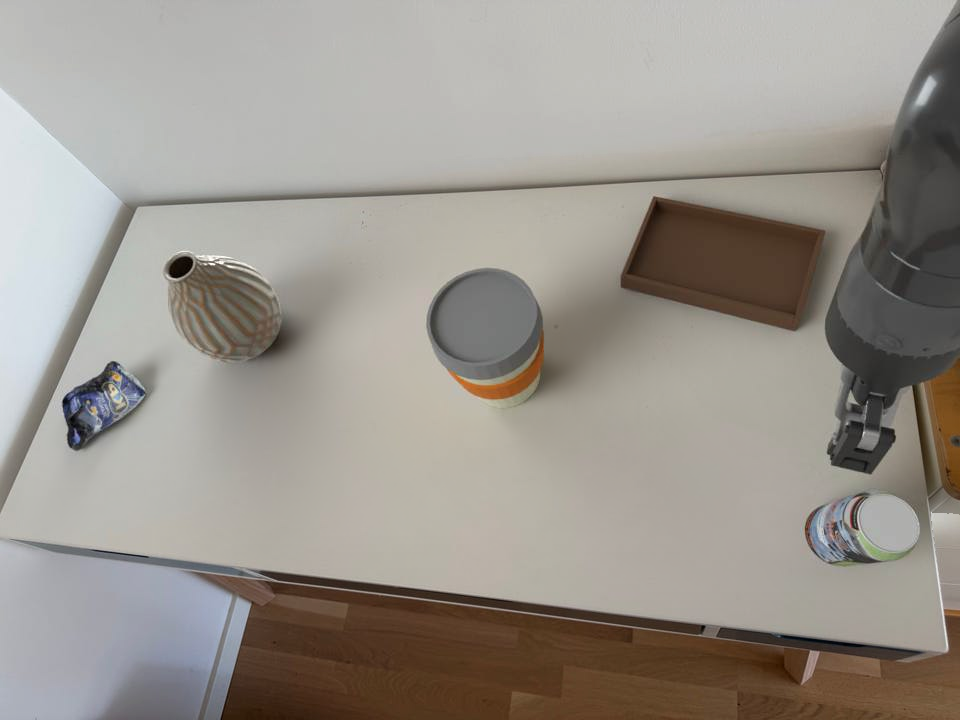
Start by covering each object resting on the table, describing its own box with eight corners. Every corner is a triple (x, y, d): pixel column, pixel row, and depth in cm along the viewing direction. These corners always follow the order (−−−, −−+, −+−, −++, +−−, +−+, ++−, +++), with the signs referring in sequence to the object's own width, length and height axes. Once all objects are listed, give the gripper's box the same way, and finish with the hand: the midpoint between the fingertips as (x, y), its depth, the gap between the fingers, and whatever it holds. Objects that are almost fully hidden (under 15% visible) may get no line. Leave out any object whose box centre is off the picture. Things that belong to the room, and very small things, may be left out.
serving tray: (820, 243, 81) (826, 230, 79) (794, 331, 77) (799, 320, 74) (652, 208, 88) (653, 195, 86) (620, 287, 84) (620, 276, 82)
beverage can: (816, 496, 68) (850, 462, 58) (890, 535, 65) (940, 506, 55) (790, 548, 66) (820, 522, 56) (865, 590, 63) (911, 571, 53)
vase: (284, 281, 96) (218, 205, 81) (307, 350, 90) (240, 281, 74) (204, 320, 96) (123, 251, 81) (221, 392, 90) (137, 331, 74)
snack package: (133, 451, 88) (155, 372, 93) (92, 437, 83) (118, 354, 88) (71, 456, 93) (95, 381, 97) (28, 443, 87) (56, 364, 92)
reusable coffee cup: (551, 423, 78) (534, 370, 65) (450, 420, 81) (415, 367, 68) (558, 331, 83) (544, 264, 70) (463, 331, 86) (432, 266, 73)
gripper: (981, 424, 33) (894, 503, 47) (999, 202, 38) (916, 333, 52) (818, 392, 36) (782, 476, 50) (855, 189, 41) (812, 317, 55)
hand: (850, 403), depth 51 cm, fingers open, 8 cm apart
